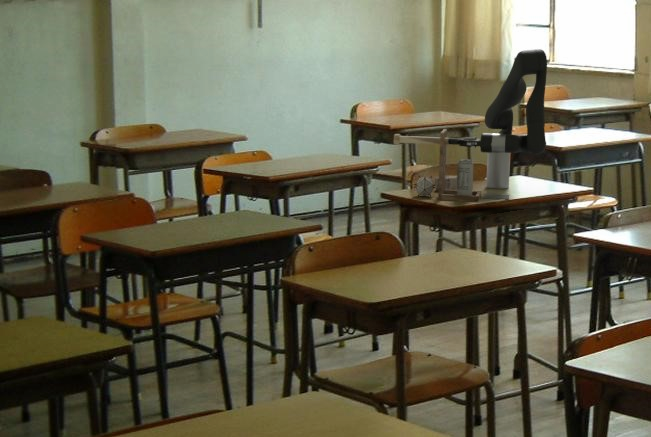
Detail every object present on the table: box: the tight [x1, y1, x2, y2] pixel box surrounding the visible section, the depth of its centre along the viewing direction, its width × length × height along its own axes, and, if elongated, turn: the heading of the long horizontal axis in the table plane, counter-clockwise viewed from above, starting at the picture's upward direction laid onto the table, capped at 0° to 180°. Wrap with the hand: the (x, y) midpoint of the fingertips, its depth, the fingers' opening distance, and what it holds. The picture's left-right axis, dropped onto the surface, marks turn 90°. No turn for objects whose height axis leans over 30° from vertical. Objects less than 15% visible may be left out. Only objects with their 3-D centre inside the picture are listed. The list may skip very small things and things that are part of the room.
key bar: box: [393, 133, 450, 146], centre depth 475 cm, size 4×21×4 cm, turn 79°
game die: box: [413, 175, 436, 198], centre depth 478 cm, size 9×8×10 cm
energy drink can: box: [456, 158, 474, 196], centre depth 474 cm, size 6×6×15 cm
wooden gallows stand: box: [437, 128, 482, 202], centre depth 473 cm, size 13×16×26 cm
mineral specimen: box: [434, 174, 457, 191], centre depth 495 cm, size 13×7×6 cm, turn 114°
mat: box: [482, 193, 510, 201], centre depth 479 cm, size 10×10×1 cm
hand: (448, 141), depth 473 cm, fingers closed
